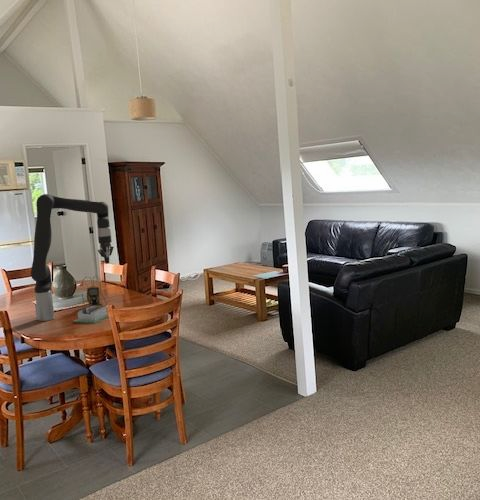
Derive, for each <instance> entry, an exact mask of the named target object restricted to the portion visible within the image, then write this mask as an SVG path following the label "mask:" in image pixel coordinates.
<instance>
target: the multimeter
mask: <svg viewBox="0 0 480 500" xmlns="http://www.w3.org/2000/svg"><path fill="white" fill-rule="evenodd" d="M95 277H96V278H98V276H96V275H95V276H93V277H92V278H91V277H90V276H88V278H89V279H90V280H91V283H90V284H91V286H87V287H86V299H87V302H88V307H90V306H97V305H98V304H102V303H101V296H102V298H103V299H104V302H105V303H106V304H105V305H102V307H104V306H105V307H107V305H108V304H107V301H106V300H105V299H106V298H105V297H104V295H103V293H102V291H101V289H102V288H101V283H102V282H99V285H95V281H94V280H93V279H94V278H95ZM86 278H87V276H85V277H84V278H83V280H82V283H81V285H83V284H84V280H85V279H86ZM98 280H99V281H101V279H100V278H98ZM83 295H84V294H81V296H82V298H84V296H83ZM82 301H83V303H85V300H84V299H82Z"/></svg>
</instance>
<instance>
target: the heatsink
mask: <svg viewBox="0 0 480 500" xmlns="http://www.w3.org/2000/svg"><path fill="white" fill-rule="evenodd" d="M98 305H99V306H101V308H100V309H97V310H95V311H93V310H92V308H94V307H96V306H90V307H89V306H88V307H82V309H81V310H79V311H78V312H77V317H78V318H77V319H74V320H72V322H73V323H81V324H83V323H84V324H93V323H96V324H98V323H100V322H102V321H104V320H106V319H108V318H109V317H108V316H107V312H106V307H107V306H105V305H103V303H101V304H98ZM102 306H103V307H102ZM87 310H89V313H85V311H87ZM105 318H106V319H105ZM103 319H104V320H103ZM101 320H102V321H101Z"/></svg>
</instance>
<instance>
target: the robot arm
mask: <svg viewBox="0 0 480 500" xmlns="http://www.w3.org/2000/svg"><path fill="white" fill-rule="evenodd" d="M54 209H55V210H56V209H63V210H68V211H72V212H74V211H75V212H80V213H81V212H83V213H93V214H96V216H97V219H96V220H97V221H96V223H97V224H96V225H97V238H98V239H97V240H98V243H99V249H98V250H97V252H98V253H99V255H100V257H101V258H104V259H103V261H104V264H105V265H106V264H110V256H112V254H113V251H114V246H112V244H111V243H112V241H113V240H112V232H111V227H110V219H109V205H108V204H107V202H105V201H91V200H86V199H76V198H65V197H59V196H55V195H51V194H48V193H44V194H40V195H39V196H38V197H37V199H36V222H35V227H34V228H35V229H34V238H33V258H32V265H31V270H30V276H31V279H32V280H33V281H35V287H34V297H35V305H34V306H35V315H36V320H37V321H40V322H47V321H51V320H53V319H55V311H54V303H53V294H52V284H53V283H52V281H53V280H52V273H51V272H52V271H51V269H50V267H49V265H48V264H47V258H48V255H49V252H50V248H51V244H52V233H53V232H52V224H51V215H52V210H54Z"/></svg>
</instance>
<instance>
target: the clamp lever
mask: <svg viewBox="0 0 480 500" xmlns="http://www.w3.org/2000/svg"><path fill="white" fill-rule="evenodd" d="M100 308H101V306H99V305H97V306H96V307H94V308H92V310H93V311H95V310H97V309H100ZM85 313H89V310H87V311H85Z"/></svg>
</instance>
